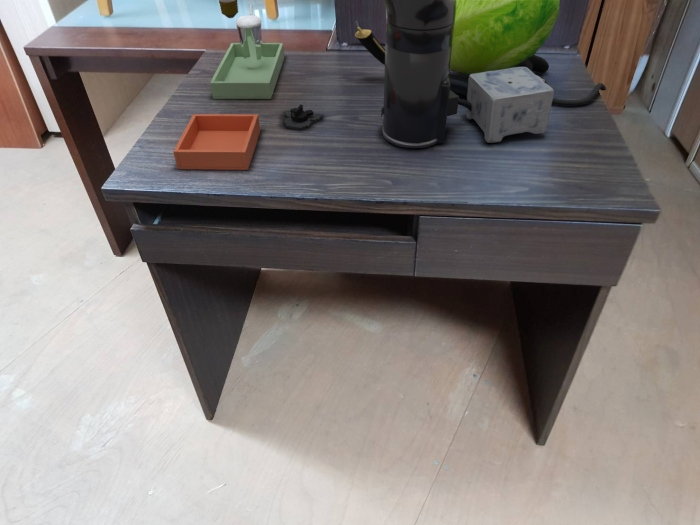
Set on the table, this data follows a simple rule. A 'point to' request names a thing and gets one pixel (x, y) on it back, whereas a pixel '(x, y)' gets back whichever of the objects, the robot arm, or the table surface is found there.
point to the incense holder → (509, 102)
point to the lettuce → (499, 33)
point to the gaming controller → (535, 65)
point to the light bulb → (228, 7)
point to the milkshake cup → (250, 39)
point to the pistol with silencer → (378, 52)
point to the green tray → (247, 74)
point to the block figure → (300, 118)
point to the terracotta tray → (218, 142)
